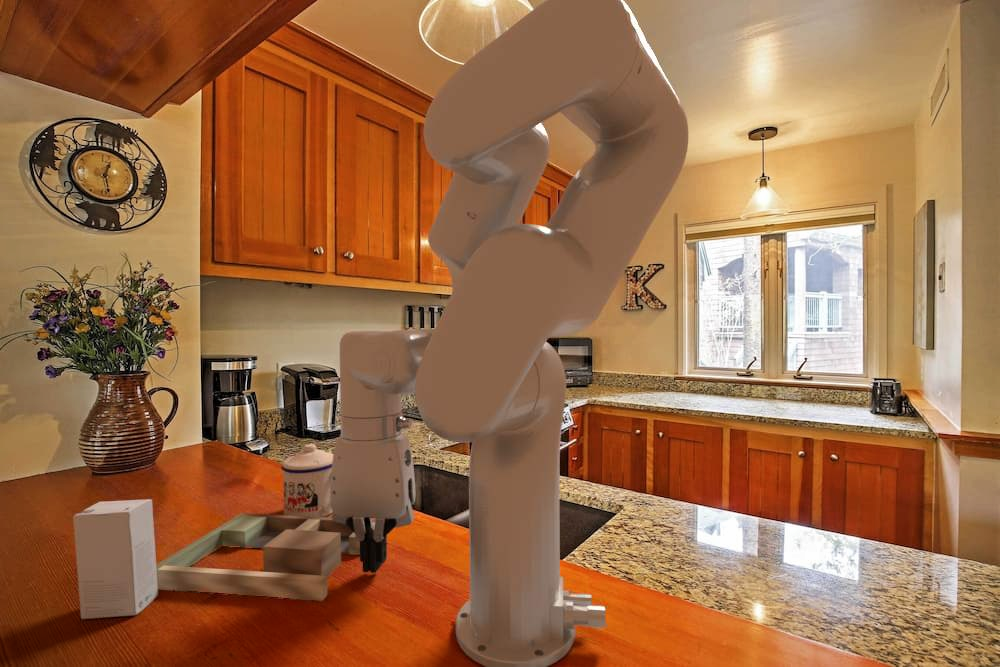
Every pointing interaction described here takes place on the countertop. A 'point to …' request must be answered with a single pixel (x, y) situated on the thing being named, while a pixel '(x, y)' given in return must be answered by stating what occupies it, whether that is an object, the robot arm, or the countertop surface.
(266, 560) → the block
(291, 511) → the teacup with lid
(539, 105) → the robot arm
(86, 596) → the skincare box
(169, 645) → the countertop surface
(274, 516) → the tray
